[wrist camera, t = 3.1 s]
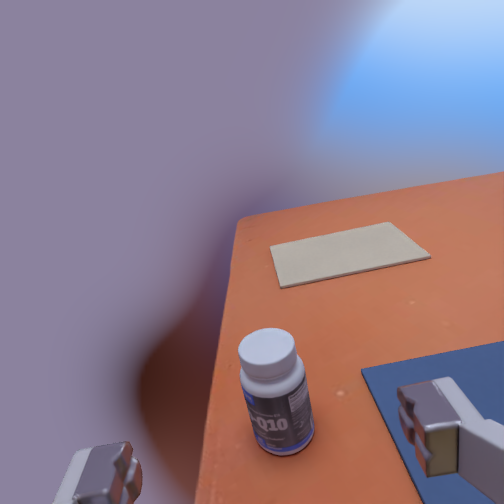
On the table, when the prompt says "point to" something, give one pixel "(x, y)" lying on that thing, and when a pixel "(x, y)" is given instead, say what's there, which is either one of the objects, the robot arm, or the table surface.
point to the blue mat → (472, 385)
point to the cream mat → (343, 254)
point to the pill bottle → (276, 391)
